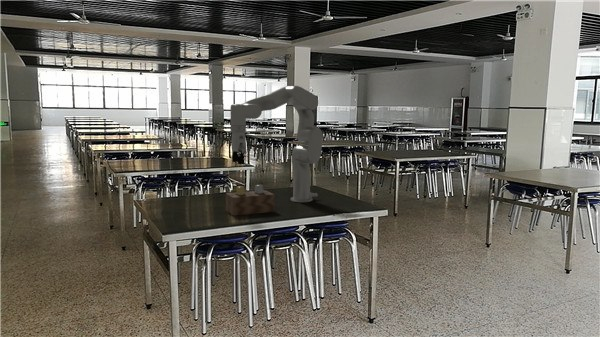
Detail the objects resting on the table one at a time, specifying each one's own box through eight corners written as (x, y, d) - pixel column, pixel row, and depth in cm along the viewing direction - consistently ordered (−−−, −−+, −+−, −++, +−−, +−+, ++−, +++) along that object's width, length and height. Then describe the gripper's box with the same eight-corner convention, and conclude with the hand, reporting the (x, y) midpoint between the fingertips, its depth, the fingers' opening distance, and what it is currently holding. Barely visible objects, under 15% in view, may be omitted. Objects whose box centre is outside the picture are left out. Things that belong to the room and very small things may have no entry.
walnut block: (265, 206, 245) (265, 190, 244) (274, 211, 234) (274, 194, 233) (225, 210, 235) (225, 193, 234) (233, 215, 225) (232, 197, 224)
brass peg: (243, 201, 235) (243, 185, 234) (245, 202, 231) (245, 187, 230) (235, 201, 233) (235, 186, 232) (238, 203, 229) (238, 187, 228)
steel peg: (261, 199, 239) (261, 184, 238) (264, 201, 236) (264, 185, 234) (254, 200, 237) (254, 185, 236) (256, 201, 234) (256, 186, 233)
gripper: (250, 129, 222) (250, 164, 224) (240, 128, 237) (240, 160, 240) (235, 129, 219) (236, 165, 221) (226, 128, 234) (226, 161, 236)
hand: (238, 163), depth 230 cm, fingers open, 9 cm apart
